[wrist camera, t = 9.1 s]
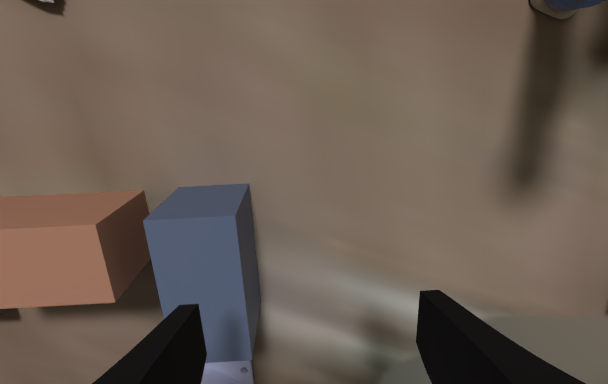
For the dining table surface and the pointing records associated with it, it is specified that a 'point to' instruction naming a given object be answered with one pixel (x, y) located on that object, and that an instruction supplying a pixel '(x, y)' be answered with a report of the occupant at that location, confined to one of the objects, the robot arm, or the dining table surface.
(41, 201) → the terracotta brick
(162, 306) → the navy brick
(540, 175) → the dining table surface
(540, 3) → the doll family
